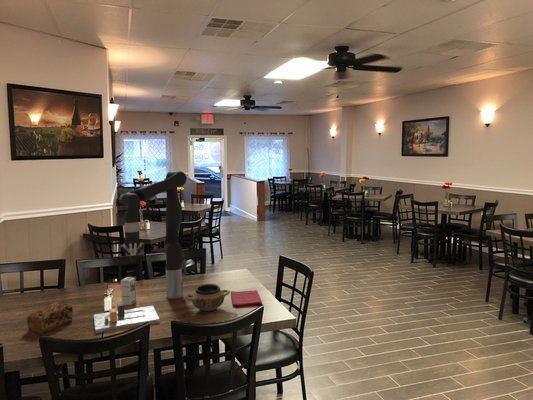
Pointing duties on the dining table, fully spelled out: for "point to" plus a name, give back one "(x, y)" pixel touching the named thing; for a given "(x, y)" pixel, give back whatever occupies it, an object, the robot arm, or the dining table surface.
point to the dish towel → (245, 299)
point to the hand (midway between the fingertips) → (133, 261)
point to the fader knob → (113, 315)
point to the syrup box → (128, 291)
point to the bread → (49, 317)
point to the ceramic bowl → (207, 297)
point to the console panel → (125, 318)
